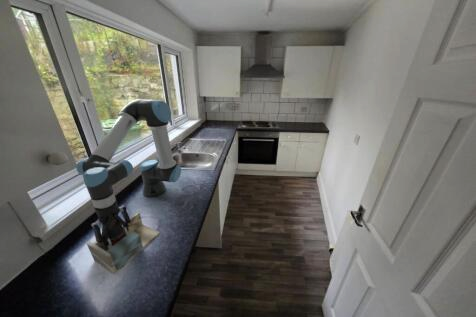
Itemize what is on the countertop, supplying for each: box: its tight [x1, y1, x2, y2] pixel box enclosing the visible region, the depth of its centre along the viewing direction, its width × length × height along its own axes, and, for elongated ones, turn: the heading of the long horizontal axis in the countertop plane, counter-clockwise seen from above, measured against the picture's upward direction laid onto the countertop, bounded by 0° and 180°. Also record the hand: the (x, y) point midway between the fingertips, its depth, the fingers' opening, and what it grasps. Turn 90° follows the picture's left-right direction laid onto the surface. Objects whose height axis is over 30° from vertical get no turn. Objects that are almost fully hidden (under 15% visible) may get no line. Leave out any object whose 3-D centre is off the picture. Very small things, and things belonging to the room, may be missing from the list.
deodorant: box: [108, 219, 125, 246], centre depth 81 cm, size 6×6×15 cm
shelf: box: [86, 211, 161, 275], centre depth 84 cm, size 24×14×11 cm, turn 155°
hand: (119, 242), depth 83 cm, fingers open, 7 cm apart
